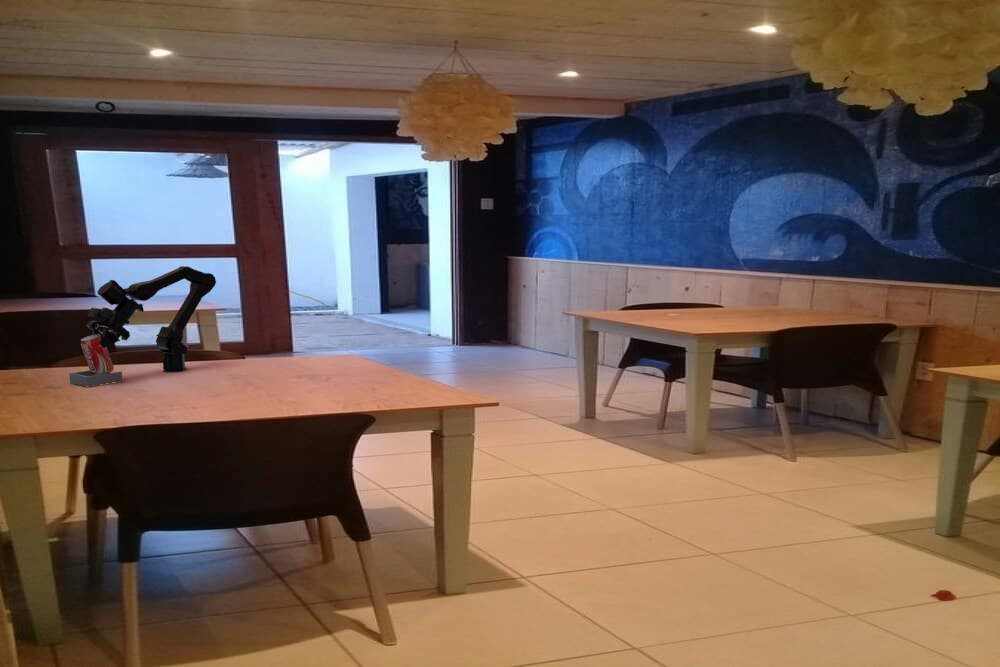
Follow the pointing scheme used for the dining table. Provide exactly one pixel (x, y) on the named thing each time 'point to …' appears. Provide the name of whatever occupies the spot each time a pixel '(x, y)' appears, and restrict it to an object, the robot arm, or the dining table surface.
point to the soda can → (96, 355)
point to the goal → (94, 378)
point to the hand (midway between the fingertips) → (91, 350)
